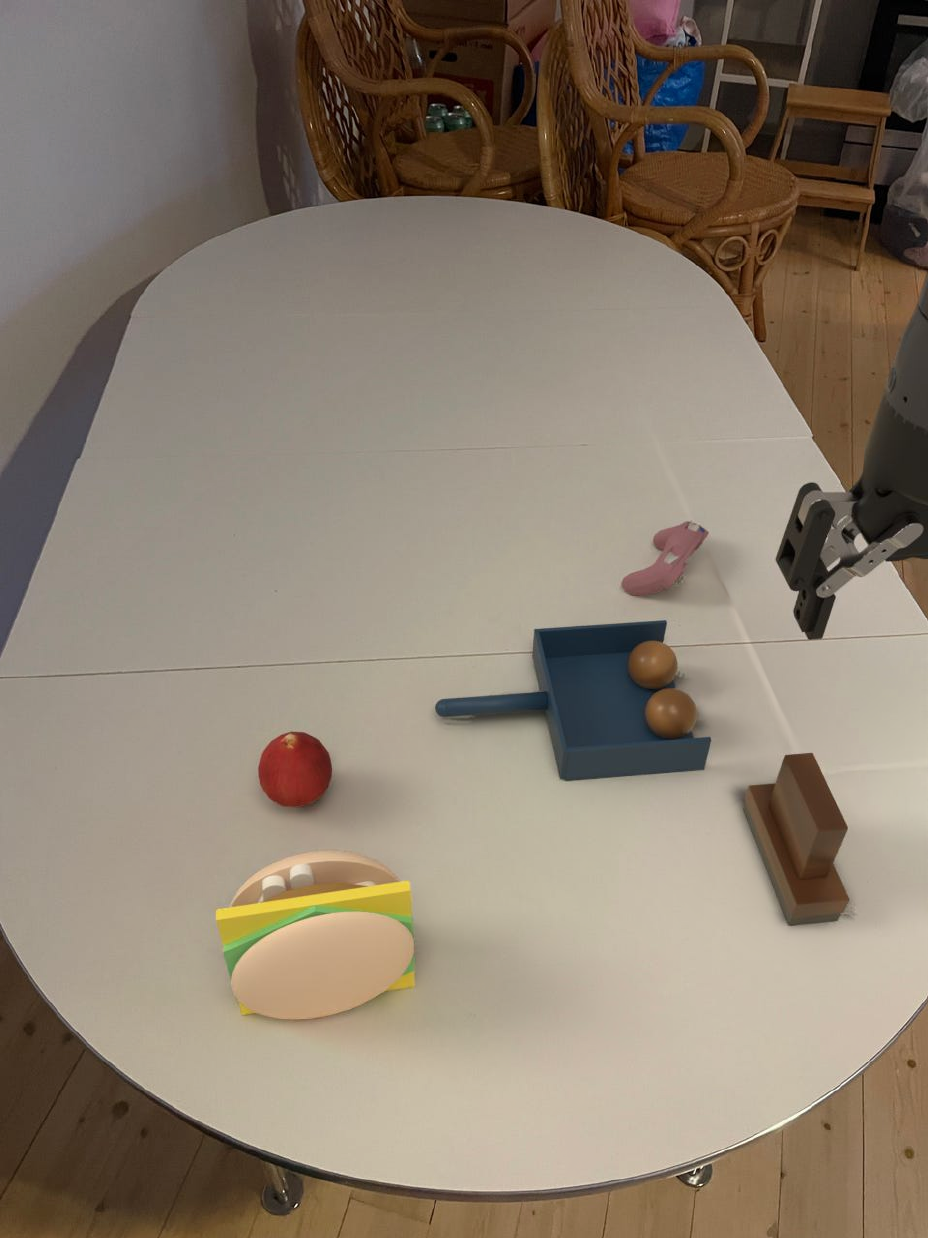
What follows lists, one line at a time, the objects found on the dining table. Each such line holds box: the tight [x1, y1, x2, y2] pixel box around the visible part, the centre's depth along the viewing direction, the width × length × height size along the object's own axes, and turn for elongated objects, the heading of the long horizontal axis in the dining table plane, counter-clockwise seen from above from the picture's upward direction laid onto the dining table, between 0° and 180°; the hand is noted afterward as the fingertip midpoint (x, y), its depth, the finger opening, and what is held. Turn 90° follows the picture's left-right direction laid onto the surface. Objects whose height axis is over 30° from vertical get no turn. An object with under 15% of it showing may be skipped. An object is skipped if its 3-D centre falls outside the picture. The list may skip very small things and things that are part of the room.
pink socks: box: [621, 520, 709, 596], centre depth 105 cm, size 10×5×7 cm, turn 150°
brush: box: [742, 752, 850, 926], centre depth 78 cm, size 4×11×9 cm, turn 7°
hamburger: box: [215, 850, 416, 1021], centre depth 70 cm, size 12×8×12 cm
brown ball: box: [628, 641, 678, 689], centre depth 94 cm, size 4×4×4 cm
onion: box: [257, 731, 333, 808], centre depth 83 cm, size 6×6×8 cm
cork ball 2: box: [645, 687, 698, 739], centre depth 90 cm, size 4×4×4 cm
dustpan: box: [434, 619, 712, 782], centre depth 91 cm, size 22×15×4 cm
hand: (875, 626), depth 65 cm, fingers open, 8 cm apart
